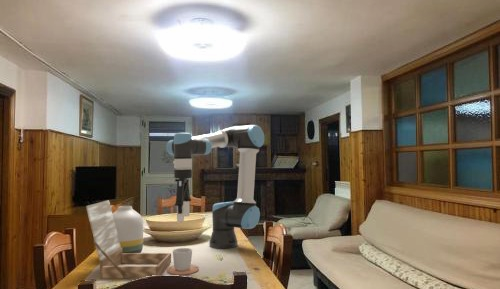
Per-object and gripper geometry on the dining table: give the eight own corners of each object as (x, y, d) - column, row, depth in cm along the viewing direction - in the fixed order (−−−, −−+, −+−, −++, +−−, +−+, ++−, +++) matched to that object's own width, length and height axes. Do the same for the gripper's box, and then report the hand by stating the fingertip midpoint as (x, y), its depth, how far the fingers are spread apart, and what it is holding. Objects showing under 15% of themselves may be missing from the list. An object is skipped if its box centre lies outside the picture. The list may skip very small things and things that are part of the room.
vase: (121, 263, 170) (122, 209, 171) (98, 258, 179) (98, 207, 180) (150, 255, 185) (150, 205, 186) (127, 251, 194) (127, 203, 195)
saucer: (200, 266, 165) (200, 264, 165) (195, 274, 152) (195, 272, 152) (171, 266, 165) (171, 264, 165) (163, 274, 152) (163, 272, 152)
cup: (174, 265, 163) (174, 246, 164) (193, 264, 164) (193, 246, 164) (171, 272, 153) (171, 252, 153) (191, 272, 153) (191, 252, 154)
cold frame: (171, 263, 170) (171, 199, 171) (157, 279, 147) (157, 205, 148) (107, 263, 170) (107, 200, 172) (83, 279, 147) (84, 206, 149)
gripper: (179, 168, 175) (180, 214, 174) (167, 170, 150) (168, 224, 149) (196, 167, 175) (196, 214, 174) (186, 169, 150) (187, 223, 149)
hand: (183, 218), depth 162 cm, fingers open, 13 cm apart
